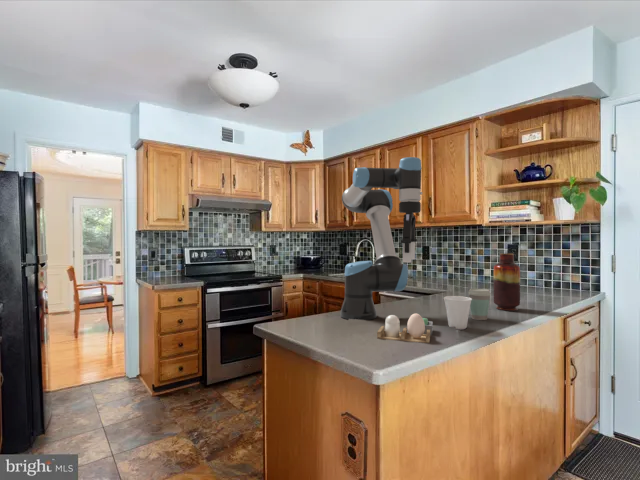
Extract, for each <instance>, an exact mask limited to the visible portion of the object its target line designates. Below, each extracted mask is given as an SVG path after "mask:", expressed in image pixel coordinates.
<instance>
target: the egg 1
mask: <svg viewBox="0 0 640 480" xmlns="http://www.w3.org/2000/svg"><path fill="white" fill-rule="evenodd" d="M384 324H385V325H384V326H385V336H386V337H391V338H398V337H400V332H401V331H400V330H401V328H400V319H399V316H397V315H395V314H390V315H389V314H388V315H387V316H386V317H385V322H384Z"/></svg>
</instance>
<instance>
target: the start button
mask: <svg viewBox="0 0 640 480" xmlns="http://www.w3.org/2000/svg"><path fill="white" fill-rule="evenodd" d="M422 318H423V320H424V323H425V325H428V321H429V319H428V318H425V317H422Z"/></svg>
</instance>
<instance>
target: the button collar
mask: <svg viewBox="0 0 640 480" xmlns="http://www.w3.org/2000/svg"><path fill="white" fill-rule="evenodd" d="M433 324H434V323H433V321H431V320H428V325H425V331H424V333H423V334H426V333H427V330H430V336H433V331H434V328H433V327H434V325H433Z"/></svg>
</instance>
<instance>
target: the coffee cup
mask: <svg viewBox="0 0 640 480" xmlns="http://www.w3.org/2000/svg"><path fill="white" fill-rule="evenodd" d="M467 295H468V296H469V297H468V298H471V299H472V300H471V305H470V315H471V319H473V320H476V321H477V320H478V321H487V320H488V314H489V307H490V299H491V292H490V290H489V289H487V288H486V289H485V288H469V290H468V293H467Z"/></svg>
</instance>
